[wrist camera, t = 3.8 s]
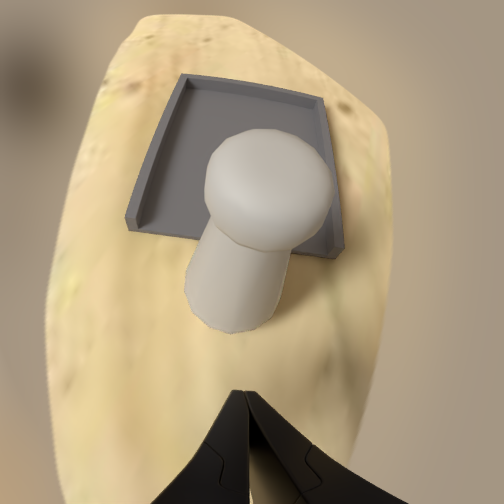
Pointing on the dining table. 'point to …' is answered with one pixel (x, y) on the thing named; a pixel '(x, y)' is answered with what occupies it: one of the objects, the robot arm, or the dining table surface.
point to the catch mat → (208, 140)
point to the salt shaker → (254, 225)
